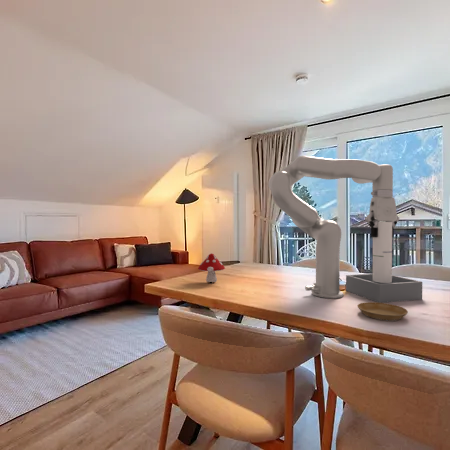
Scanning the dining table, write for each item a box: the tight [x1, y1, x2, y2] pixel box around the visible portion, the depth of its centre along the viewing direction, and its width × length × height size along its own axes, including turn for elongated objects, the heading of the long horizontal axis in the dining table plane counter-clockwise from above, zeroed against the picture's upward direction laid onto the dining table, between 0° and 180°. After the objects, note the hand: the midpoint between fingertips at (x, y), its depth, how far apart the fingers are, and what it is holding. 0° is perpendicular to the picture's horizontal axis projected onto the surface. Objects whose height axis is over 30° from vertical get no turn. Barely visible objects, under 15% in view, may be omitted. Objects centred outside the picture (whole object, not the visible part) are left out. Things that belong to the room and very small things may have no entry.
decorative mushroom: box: [197, 253, 226, 283], centre depth 148 cm, size 14×14×15 cm
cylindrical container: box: [372, 221, 393, 283], centre depth 123 cm, size 7×7×25 cm
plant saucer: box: [356, 301, 409, 322], centre depth 97 cm, size 15×15×3 cm
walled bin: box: [345, 273, 423, 303], centre depth 123 cm, size 20×20×7 cm
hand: (382, 236), depth 123 cm, fingers closed on cylindrical container, 7 cm apart
